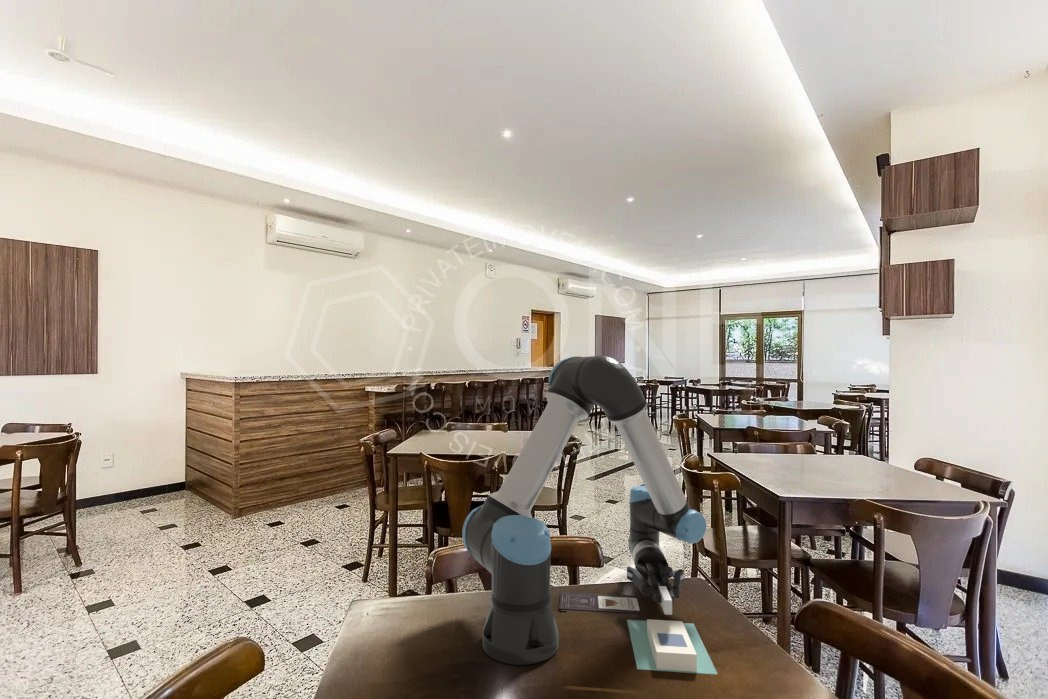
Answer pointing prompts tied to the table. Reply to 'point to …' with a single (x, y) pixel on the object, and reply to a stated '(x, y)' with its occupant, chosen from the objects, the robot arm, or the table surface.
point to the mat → (645, 653)
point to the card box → (671, 645)
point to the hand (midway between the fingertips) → (668, 607)
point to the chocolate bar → (599, 602)
